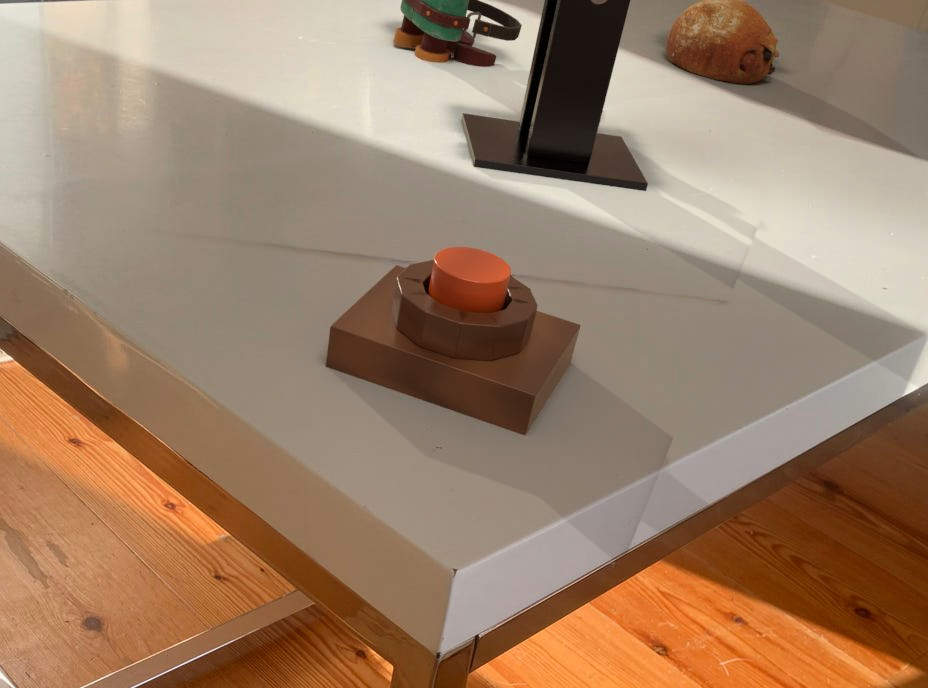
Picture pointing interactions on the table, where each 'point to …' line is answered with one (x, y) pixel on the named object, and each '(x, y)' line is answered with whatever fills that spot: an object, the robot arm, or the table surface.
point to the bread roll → (723, 42)
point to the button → (469, 280)
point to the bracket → (563, 103)
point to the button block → (454, 349)
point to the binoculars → (452, 30)
